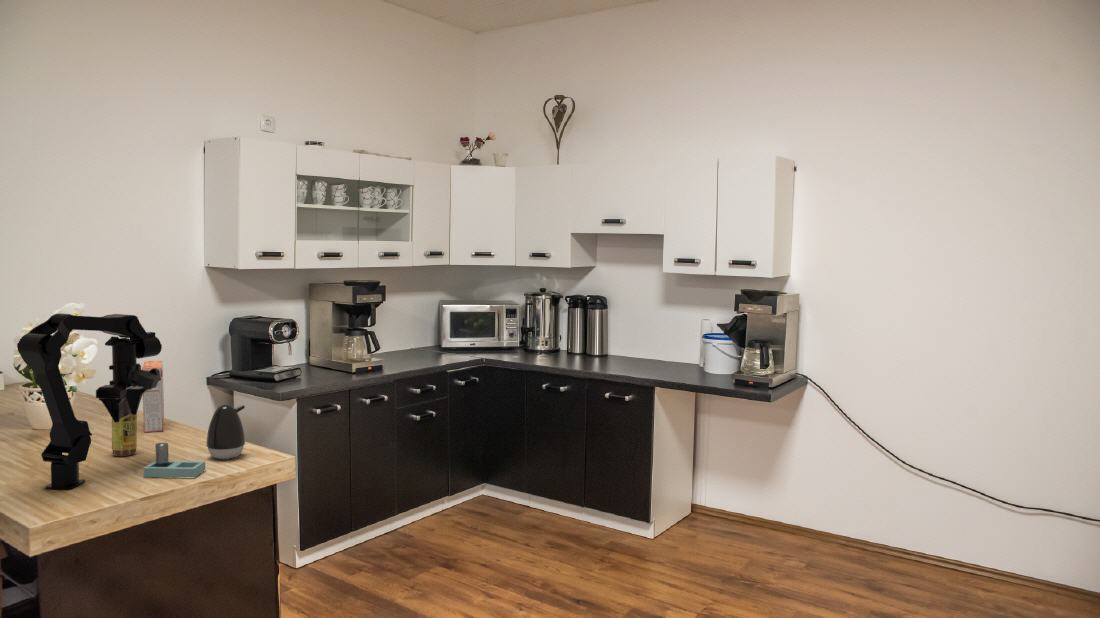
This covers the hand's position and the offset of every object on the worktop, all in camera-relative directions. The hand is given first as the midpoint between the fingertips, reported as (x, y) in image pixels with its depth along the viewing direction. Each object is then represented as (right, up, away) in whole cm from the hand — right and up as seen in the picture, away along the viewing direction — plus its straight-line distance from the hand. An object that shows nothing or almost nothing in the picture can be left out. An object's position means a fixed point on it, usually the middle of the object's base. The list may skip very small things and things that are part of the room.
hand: (125, 418), depth 213 cm
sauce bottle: (-7, -12, +12) cm, 18 cm away
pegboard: (+16, -14, -5) cm, 22 cm away
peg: (+13, -14, -6) cm, 20 cm away
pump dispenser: (+22, -13, +12) cm, 28 cm away
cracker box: (-14, -9, +44) cm, 47 cm away
